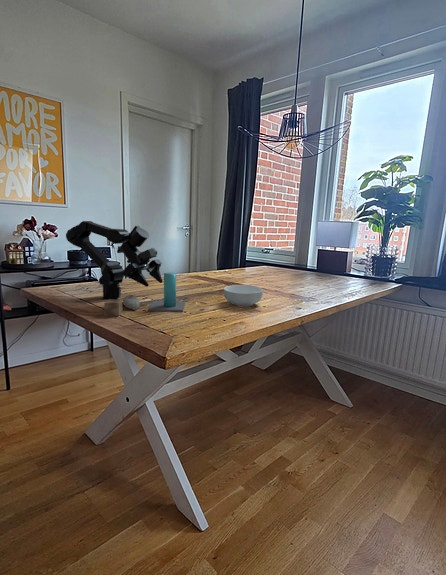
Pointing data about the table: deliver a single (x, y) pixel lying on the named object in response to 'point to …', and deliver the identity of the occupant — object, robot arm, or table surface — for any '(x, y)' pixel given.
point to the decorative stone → (131, 302)
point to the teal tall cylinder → (169, 289)
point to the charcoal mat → (160, 307)
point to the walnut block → (113, 307)
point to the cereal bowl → (243, 295)
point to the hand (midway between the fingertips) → (155, 284)
